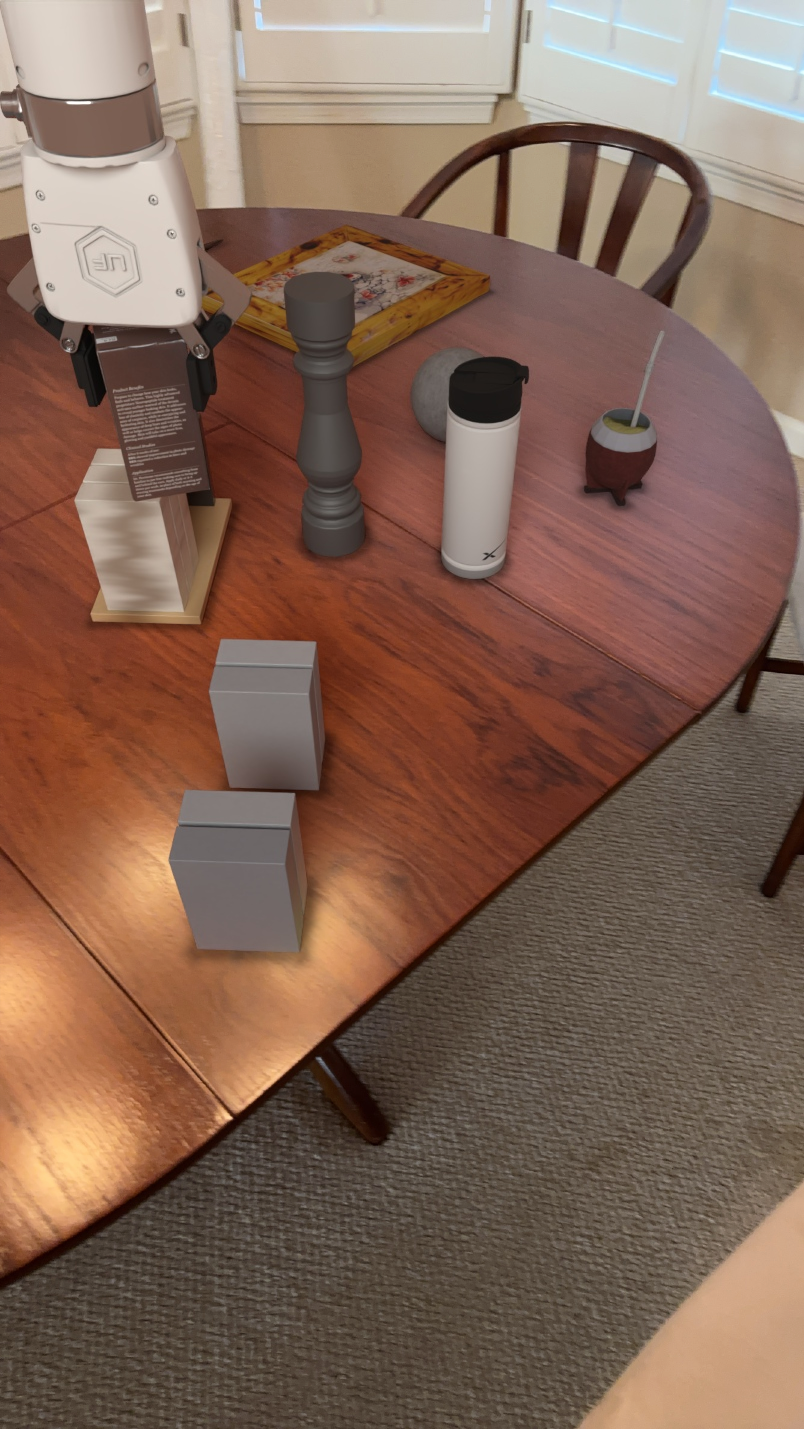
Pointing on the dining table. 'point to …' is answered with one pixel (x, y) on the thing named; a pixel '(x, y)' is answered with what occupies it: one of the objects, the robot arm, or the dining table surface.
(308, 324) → the candle holder
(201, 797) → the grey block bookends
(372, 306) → the picture frame
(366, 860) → the dining table surface
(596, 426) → the mate gourd
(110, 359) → the box
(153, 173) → the robot arm
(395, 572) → the dining table surface
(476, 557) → the travel mug
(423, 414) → the decorative ball
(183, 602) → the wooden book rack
